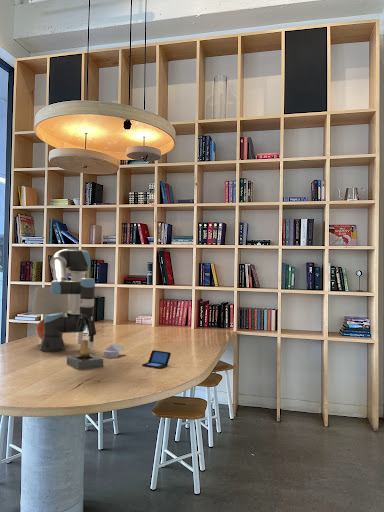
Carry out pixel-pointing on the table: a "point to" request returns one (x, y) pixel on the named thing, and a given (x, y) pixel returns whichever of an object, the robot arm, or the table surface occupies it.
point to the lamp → (48, 306)
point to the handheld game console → (158, 359)
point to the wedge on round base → (112, 351)
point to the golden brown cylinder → (84, 350)
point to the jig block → (84, 362)
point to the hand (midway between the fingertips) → (85, 345)
